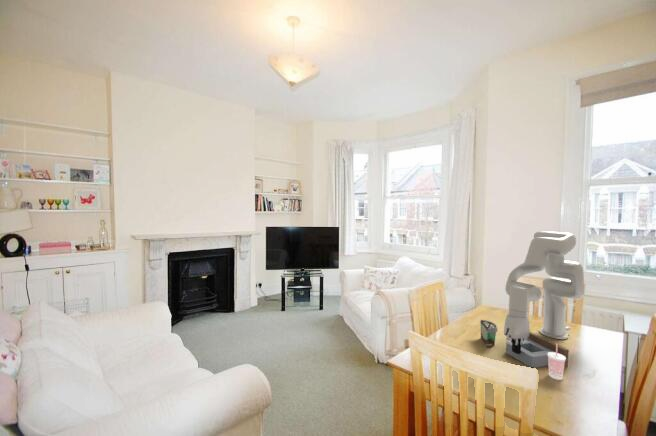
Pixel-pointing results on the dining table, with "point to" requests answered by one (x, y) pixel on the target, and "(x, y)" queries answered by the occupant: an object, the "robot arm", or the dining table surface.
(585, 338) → the dining table surface
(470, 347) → the dining table surface
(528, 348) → the socket block
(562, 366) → the beverage cup
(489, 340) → the food container
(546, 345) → the walnut wall
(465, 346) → the dining table surface
